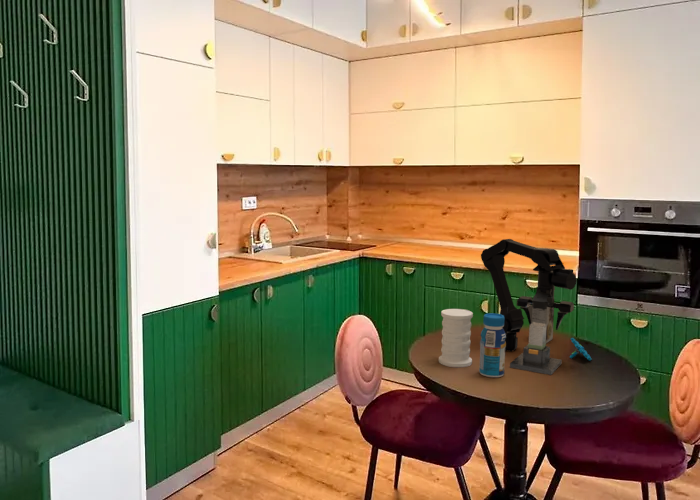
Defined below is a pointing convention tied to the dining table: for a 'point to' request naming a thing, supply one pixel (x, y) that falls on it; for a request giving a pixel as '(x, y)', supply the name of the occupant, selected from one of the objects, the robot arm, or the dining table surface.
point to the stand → (536, 361)
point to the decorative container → (456, 338)
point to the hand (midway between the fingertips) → (543, 327)
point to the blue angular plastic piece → (579, 350)
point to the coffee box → (545, 320)
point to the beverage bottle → (492, 346)
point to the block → (537, 336)
